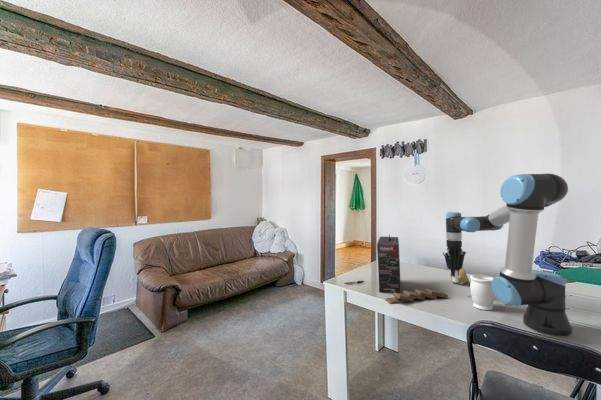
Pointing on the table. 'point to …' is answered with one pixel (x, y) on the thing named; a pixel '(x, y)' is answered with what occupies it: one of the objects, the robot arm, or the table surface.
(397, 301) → the domino
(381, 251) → the headset box
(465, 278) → the yellow lumpy round lump
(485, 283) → the jar
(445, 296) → the domino
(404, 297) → the domino
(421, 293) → the domino
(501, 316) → the table surface
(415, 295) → the domino
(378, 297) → the table surface
